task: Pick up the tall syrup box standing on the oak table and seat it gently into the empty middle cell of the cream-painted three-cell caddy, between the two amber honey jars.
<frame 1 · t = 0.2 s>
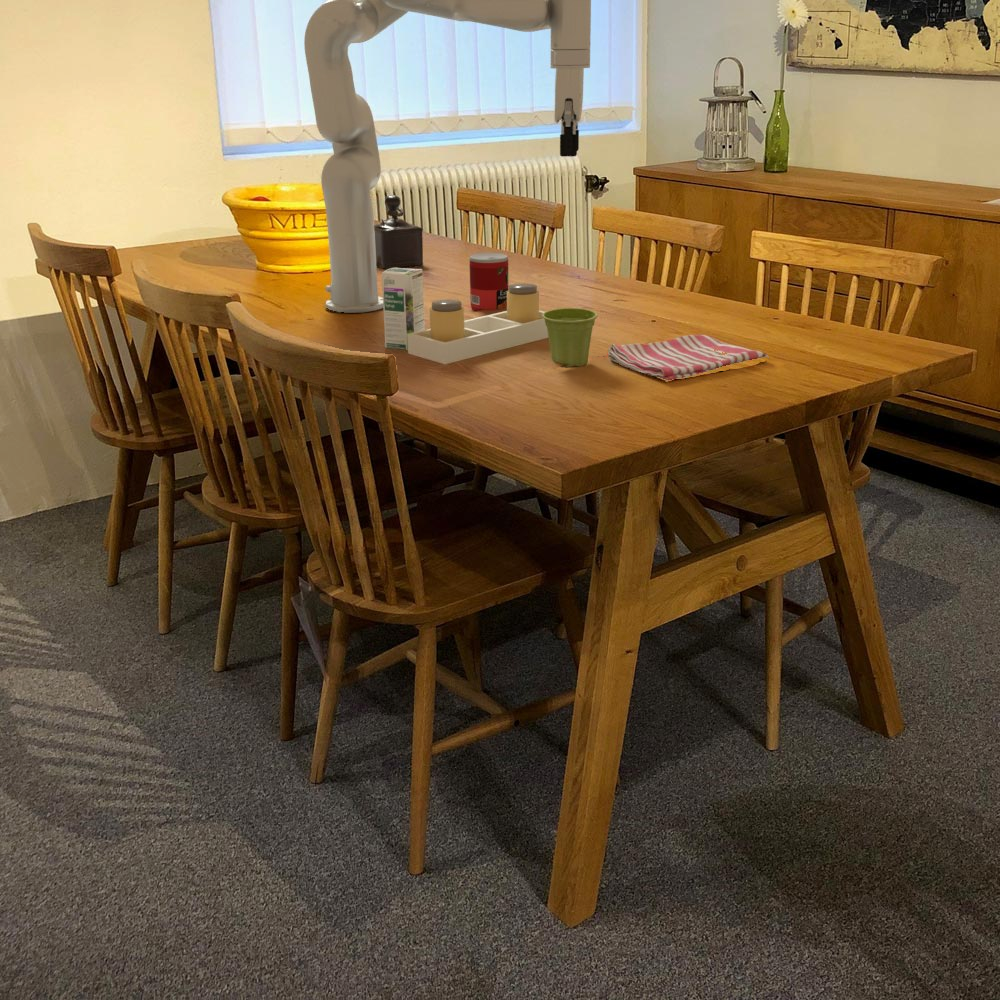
hand: (569, 153, 224), 31 cm above the table, tool pointing down, fingers open, 9 cm apart
caddy: (486, 347, 210), on the table
honey jar 1: (448, 353, 204), point 1 cm above the table, touching caddy
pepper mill: (399, 267, 282), on the table
syrup box: (405, 350, 210), on the table
dish towel: (687, 365, 200), on the table
canned food: (489, 310, 238), on the table
plant pot: (569, 364, 200), on the table
honey jar 2: (523, 334, 216), point 1 cm above the table, touching caddy
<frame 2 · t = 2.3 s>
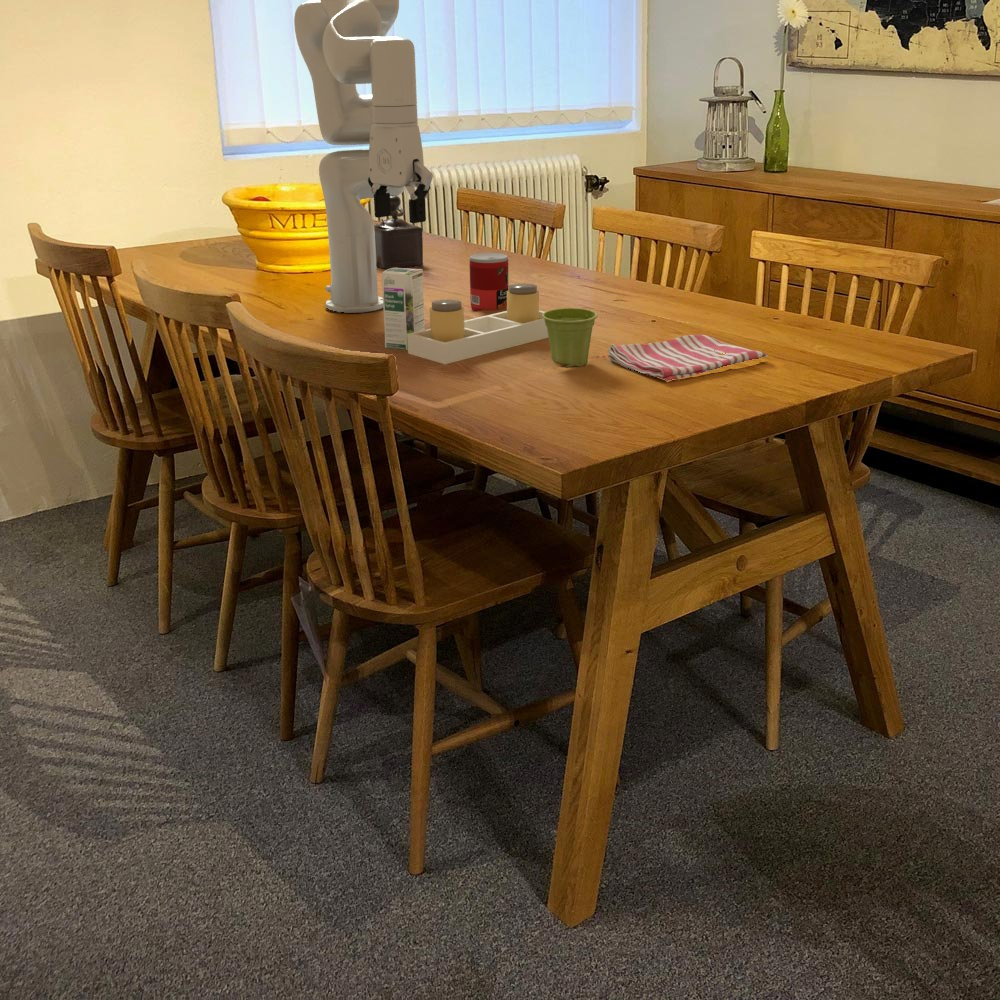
hand: (400, 219, 201), 23 cm above the table, tool pointing down, fingers open, 9 cm apart
nothing on the table moved.
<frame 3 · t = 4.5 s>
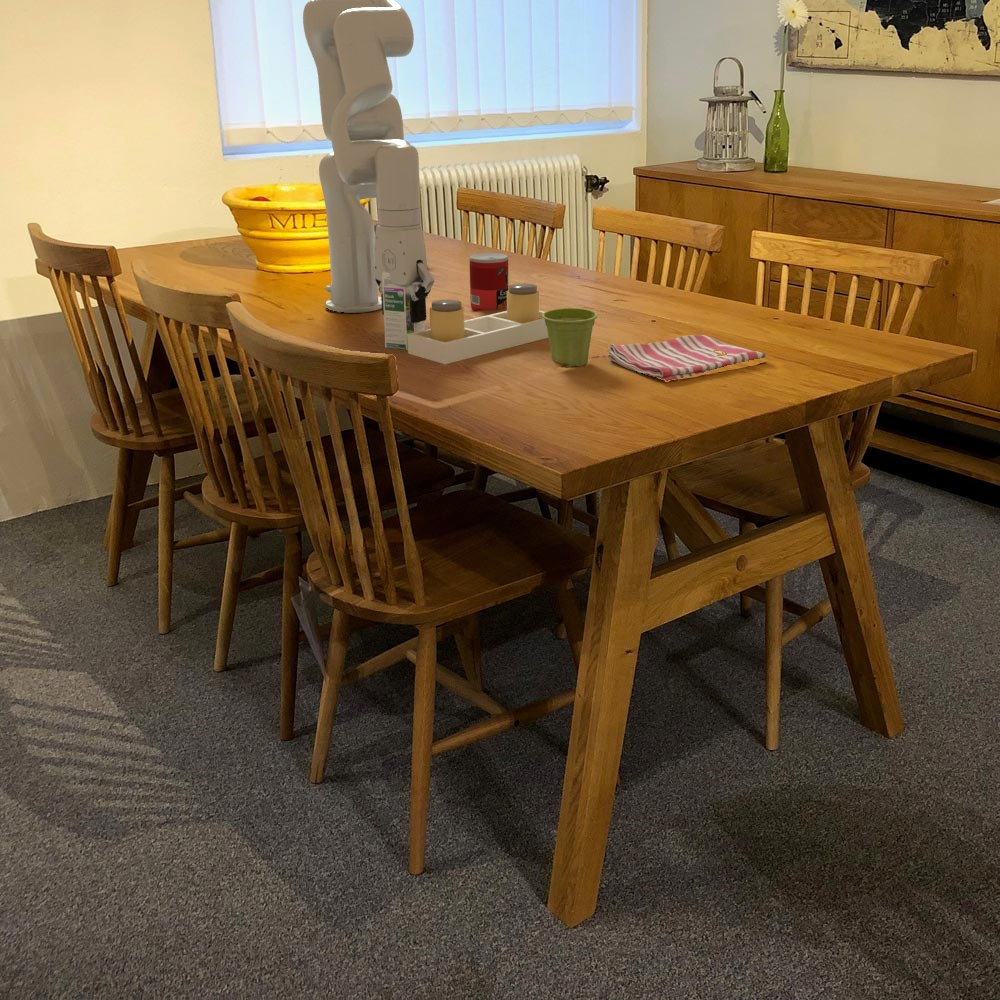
hand: (404, 317, 208), 6 cm above the table, tool pointing down, fingers closed on syrup box, 7 cm apart
syrup box: (405, 350, 210), on the table, touching gripper
everything else where it was.
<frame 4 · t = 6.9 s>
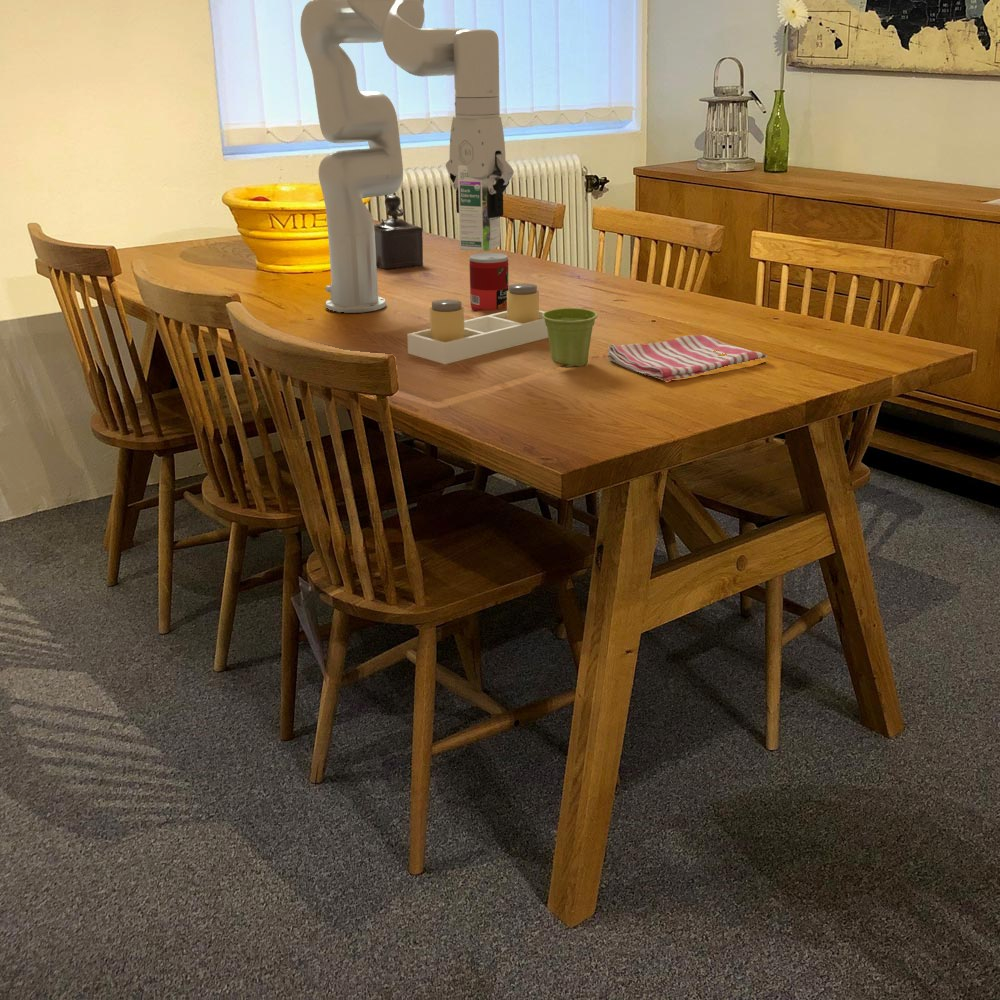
hand: (479, 213, 201), 24 cm above the table, tool pointing down, fingers closed on syrup box, 7 cm apart
syrup box: (480, 249, 203), point 18 cm above the table, touching gripper
everything else where it was.
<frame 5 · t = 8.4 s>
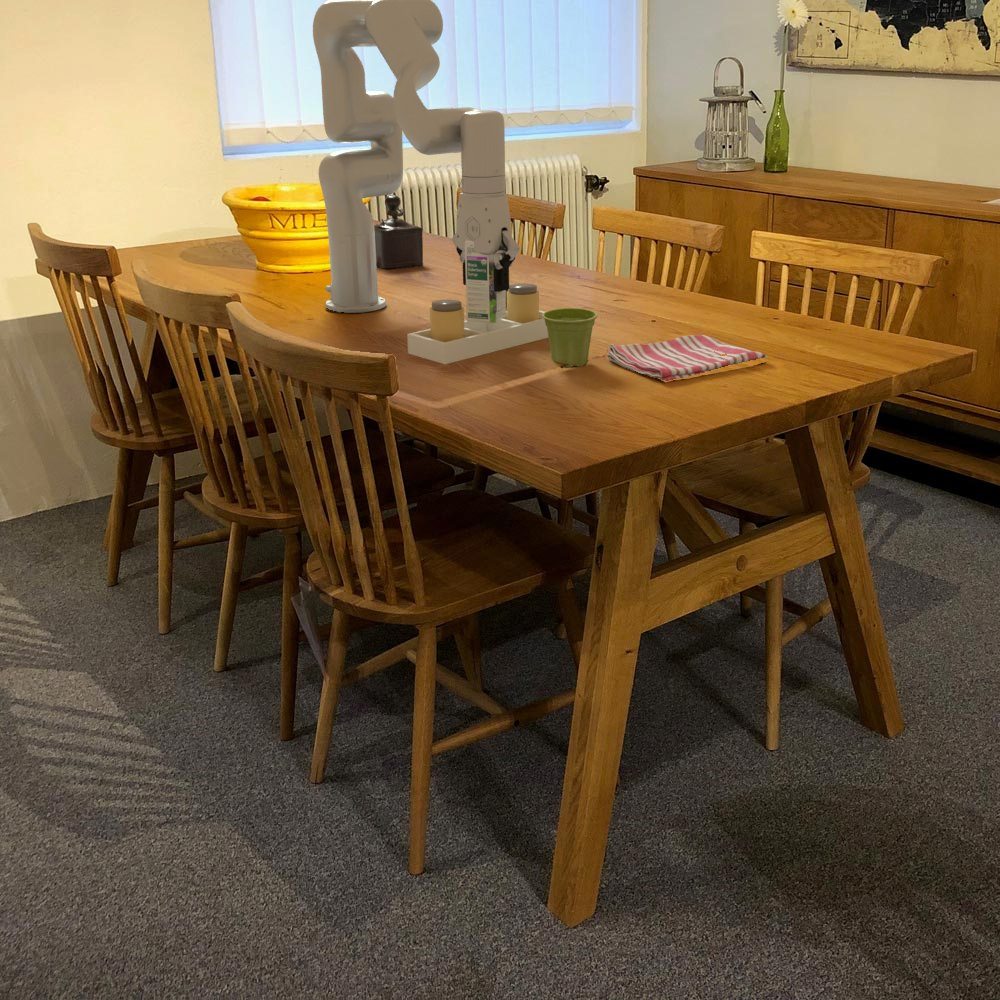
hand: (486, 286, 206), 11 cm above the table, tool pointing down, fingers closed on syrup box, 7 cm apart
syrup box: (486, 320, 208), point 5 cm above the table, touching gripper
everything else where it was.
when the fingers open (7 cm above the table, at t = 9.7 s): syrup box stays where it is, resting on caddy.
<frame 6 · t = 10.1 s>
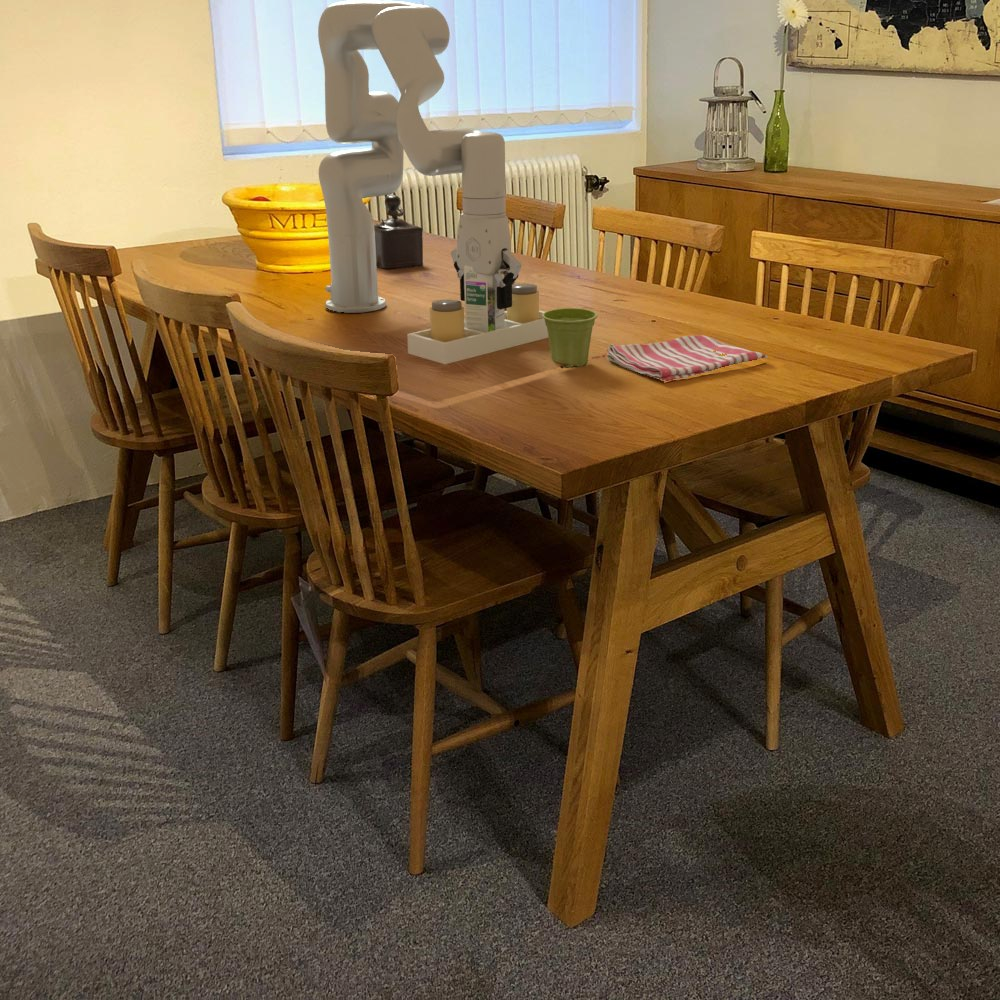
hand: (486, 303, 207), 8 cm above the table, tool pointing down, fingers open, 9 cm apart
syrup box: (485, 344, 210), point 1 cm above the table, touching caddy
everything else where it was.
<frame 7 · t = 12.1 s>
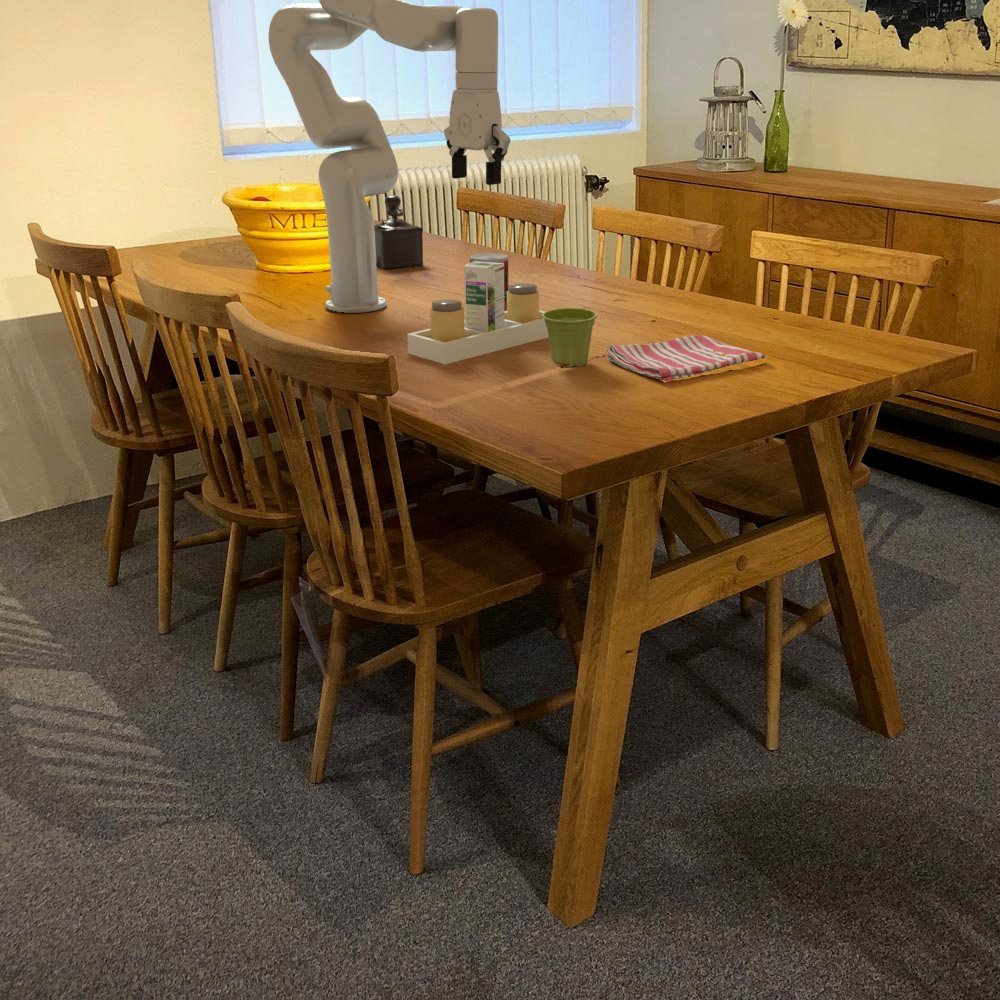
hand: (476, 180, 212), 28 cm above the table, tool pointing down, fingers open, 9 cm apart
nothing on the table moved.
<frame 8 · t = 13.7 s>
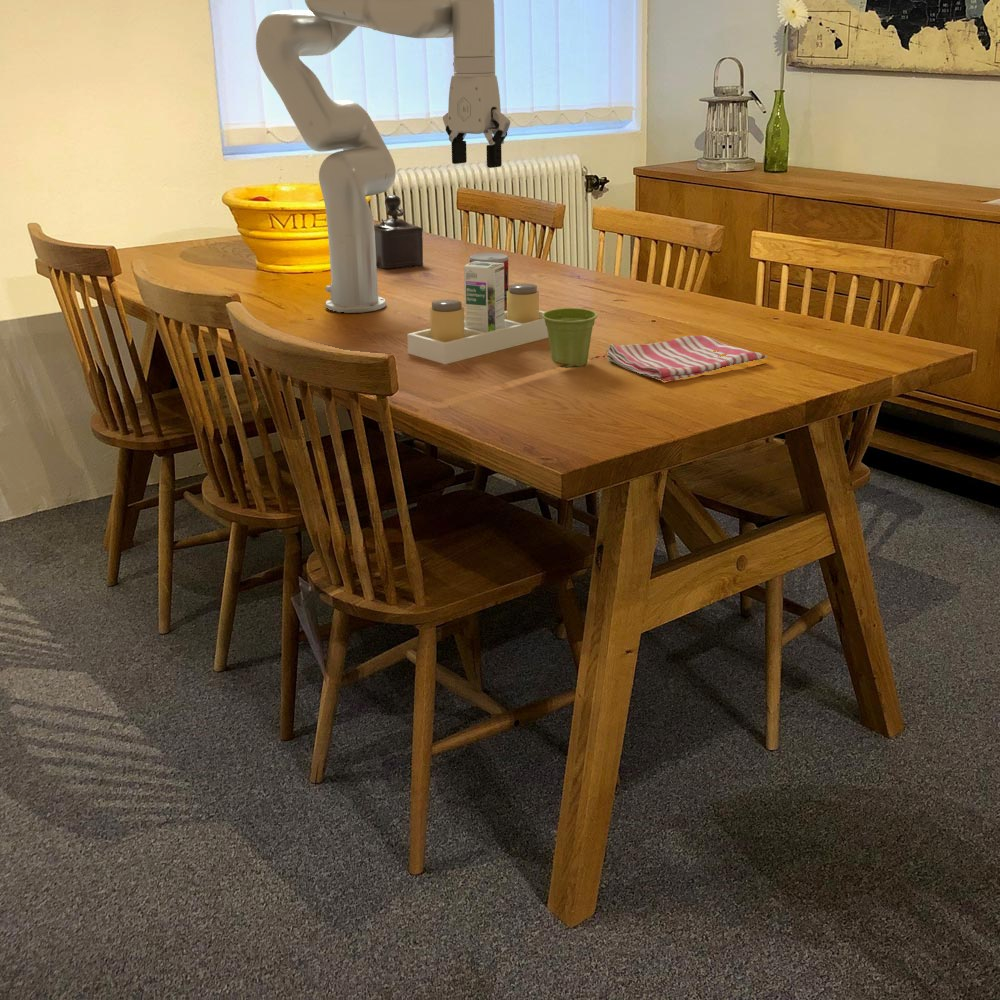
hand: (476, 165, 215), 30 cm above the table, tool pointing down, fingers open, 9 cm apart
nothing on the table moved.
at the end: syrup box 0.3 cm off-centre on the caddy, point 0.6 cm above the caddy's base; syrup box tilted 0°; the gripper is holding nothing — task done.
